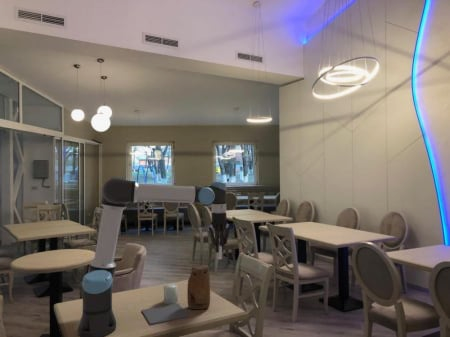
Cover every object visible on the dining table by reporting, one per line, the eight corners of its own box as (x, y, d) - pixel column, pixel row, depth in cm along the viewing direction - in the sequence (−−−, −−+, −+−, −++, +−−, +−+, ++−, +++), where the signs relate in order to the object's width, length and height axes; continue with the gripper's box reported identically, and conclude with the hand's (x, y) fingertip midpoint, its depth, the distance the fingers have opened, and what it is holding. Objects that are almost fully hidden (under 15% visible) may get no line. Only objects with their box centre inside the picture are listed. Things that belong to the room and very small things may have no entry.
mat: (150, 325, 147) (150, 323, 147) (141, 311, 161) (141, 310, 161) (189, 316, 155) (189, 315, 155) (177, 304, 169) (177, 303, 169)
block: (208, 303, 170) (208, 263, 170) (210, 309, 163) (210, 268, 163) (187, 305, 168) (187, 264, 168) (188, 311, 161) (188, 269, 161)
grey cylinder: (166, 305, 168) (166, 289, 168) (162, 300, 174) (162, 285, 174) (179, 302, 171) (179, 286, 171) (175, 298, 177) (175, 282, 177)
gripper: (210, 213, 165) (210, 262, 165) (233, 212, 170) (234, 258, 170) (204, 212, 171) (204, 258, 171) (227, 210, 177) (227, 255, 177)
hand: (219, 258), depth 171 cm, fingers closed
